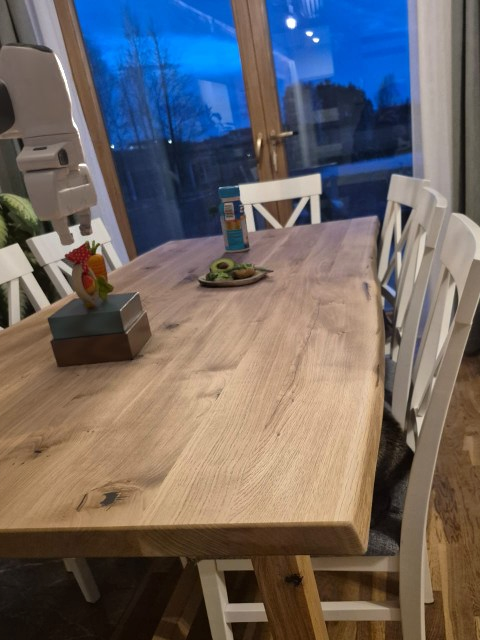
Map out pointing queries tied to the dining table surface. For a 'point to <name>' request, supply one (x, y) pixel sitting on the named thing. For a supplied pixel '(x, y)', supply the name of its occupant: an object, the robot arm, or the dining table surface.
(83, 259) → the bird rattle
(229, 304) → the dining table surface
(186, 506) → the dining table surface
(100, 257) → the carrot
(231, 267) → the salad plate
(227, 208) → the blue canister
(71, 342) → the block stack
